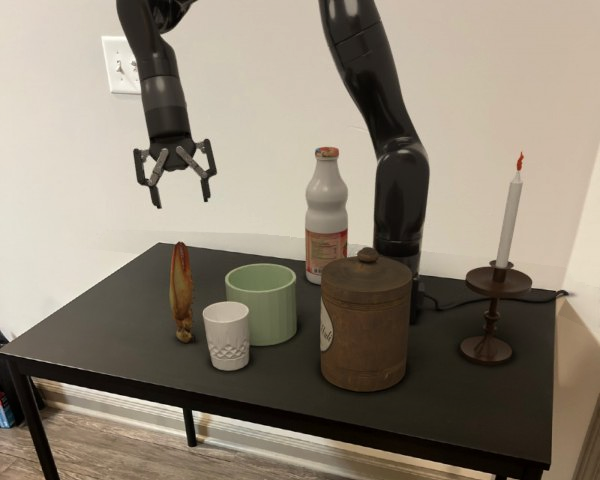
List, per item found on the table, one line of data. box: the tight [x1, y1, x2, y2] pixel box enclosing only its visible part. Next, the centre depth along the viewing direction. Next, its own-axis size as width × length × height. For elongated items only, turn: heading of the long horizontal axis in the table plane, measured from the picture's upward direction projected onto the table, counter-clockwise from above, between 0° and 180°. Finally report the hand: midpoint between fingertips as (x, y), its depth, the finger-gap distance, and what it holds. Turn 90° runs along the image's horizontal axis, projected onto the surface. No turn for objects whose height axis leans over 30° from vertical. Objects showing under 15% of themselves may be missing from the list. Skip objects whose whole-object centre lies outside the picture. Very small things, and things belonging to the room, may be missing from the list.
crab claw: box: [169, 240, 196, 343], centre depth 110 cm, size 7×5×20 cm
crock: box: [224, 263, 298, 347], centre depth 116 cm, size 13×13×11 cm
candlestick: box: [459, 150, 533, 367], centre depth 101 cm, size 11×11×35 cm
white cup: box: [202, 301, 250, 372], centre depth 107 cm, size 8×8×10 cm
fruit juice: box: [304, 146, 349, 286], centre depth 131 cm, size 9×9×28 cm
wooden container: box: [319, 246, 412, 393], centre depth 100 cm, size 15×15×22 cm
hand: (182, 205), depth 110 cm, fingers open, 8 cm apart
